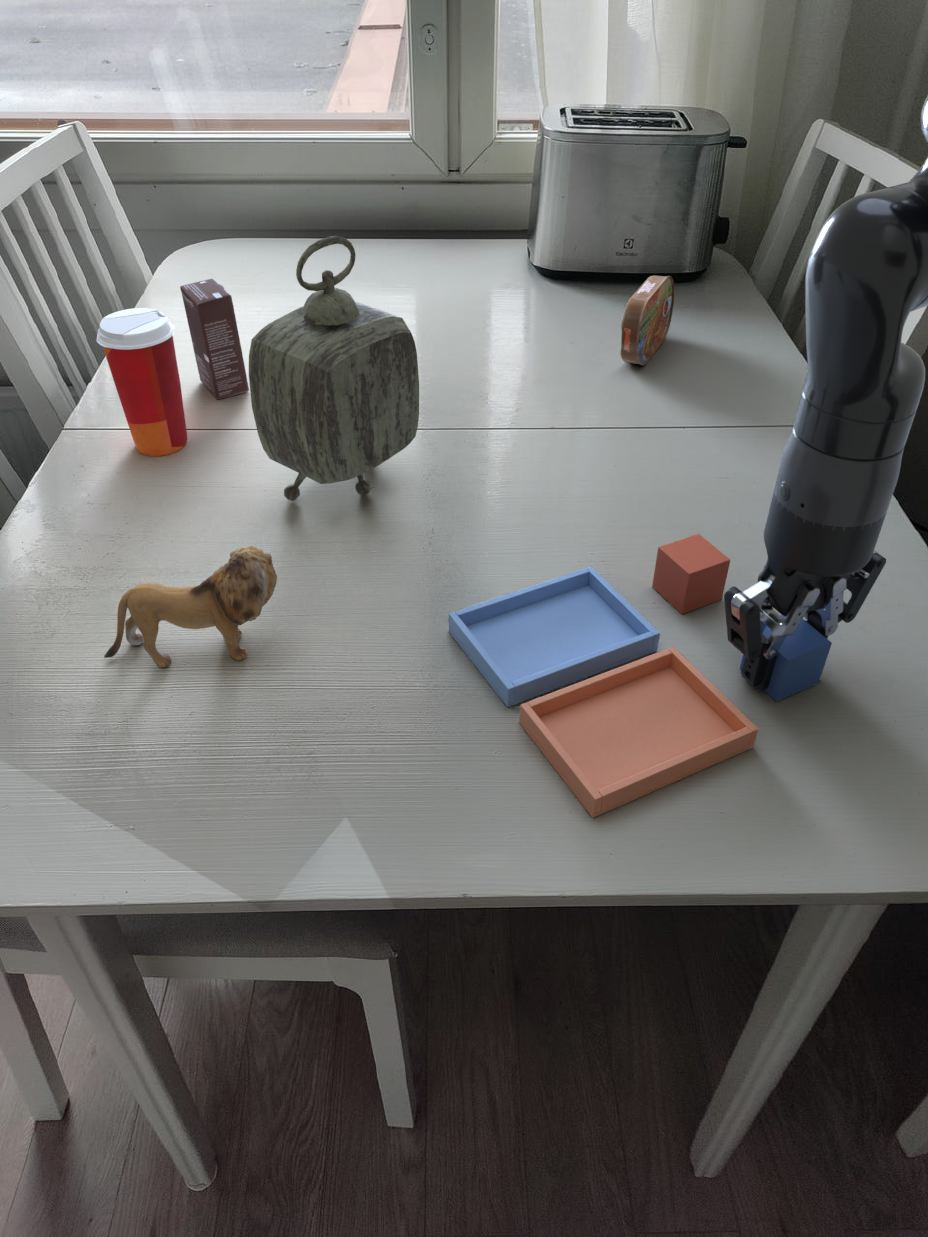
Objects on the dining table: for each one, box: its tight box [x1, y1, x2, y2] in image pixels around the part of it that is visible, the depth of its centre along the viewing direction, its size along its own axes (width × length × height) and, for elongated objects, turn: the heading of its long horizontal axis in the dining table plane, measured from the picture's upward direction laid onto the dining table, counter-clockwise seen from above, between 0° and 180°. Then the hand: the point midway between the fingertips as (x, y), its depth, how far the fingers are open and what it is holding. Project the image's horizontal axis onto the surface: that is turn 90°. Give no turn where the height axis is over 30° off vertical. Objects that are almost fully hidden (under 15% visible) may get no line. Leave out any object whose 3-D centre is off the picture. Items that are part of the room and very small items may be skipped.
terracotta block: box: [651, 533, 731, 615], centre depth 84 cm, size 4×4×4 cm
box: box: [179, 278, 250, 400], centre depth 112 cm, size 6×4×12 cm
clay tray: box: [518, 646, 759, 819], centre depth 71 cm, size 14×10×2 cm
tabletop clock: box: [248, 235, 420, 501], centre depth 90 cm, size 14×9×25 cm, turn 141°
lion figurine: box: [103, 545, 278, 668], centre depth 77 cm, size 15×5×9 cm, turn 104°
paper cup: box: [95, 307, 188, 457], centre depth 101 cm, size 8×8×14 cm
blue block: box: [739, 614, 833, 702], centre depth 75 cm, size 4×4×4 cm
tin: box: [619, 275, 675, 367], centre depth 121 cm, size 15×3×8 cm, turn 154°
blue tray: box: [448, 566, 661, 708], centre depth 79 cm, size 14×10×2 cm
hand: (779, 672), depth 77 cm, fingers closed on blue block, 4 cm apart
